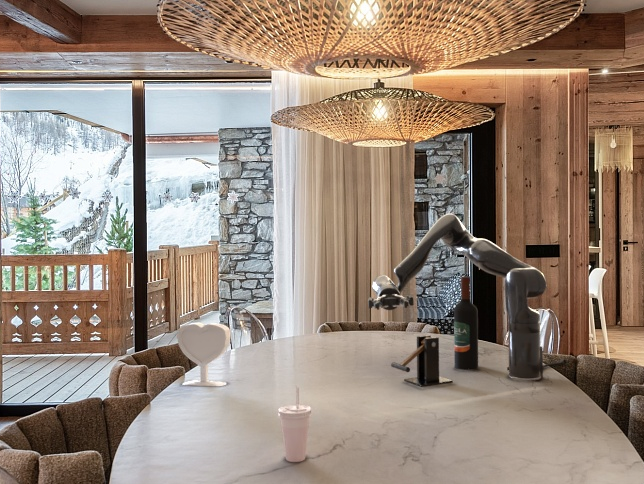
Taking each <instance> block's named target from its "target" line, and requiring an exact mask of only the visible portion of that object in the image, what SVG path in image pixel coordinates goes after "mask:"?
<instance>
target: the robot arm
mask: <svg viewBox="0 0 644 484" xmlns="http://www.w3.org/2000/svg"><path fill="white" fill-rule="evenodd" d="M440 239H441V241H442V242H443V243H444V244H445V245H446V246H447V247H449V248H450V249H453V250H455V251H457V252H458V253H460V254H462V255H463V256H464V257H465V258H466V259H467V260H469V261H470V262H471V263H472V264H474V265H475V266H476V267H478V268H479V269H481V270H482V271H484V272H485V273H487V274H491V275H493V276H496V277H499V278H500V277H501V278H503V279H504V300H505V301H504V303H505V312H506V314H507V320H508V322H507V327H508V328H507V330H508V335H507V336H508V339H507V340H508V366H507V367H506V371H508V377H509V378H511V379H515V380H523V381H524V380H525V381H531V382H532V381H533V382H537V381H540V380H541V379H543V378H544V369H545V368H546V367H552V366H560V365H563V364H564V363H566V359H565V358H564V357H562V359H561V361H559V362H552V363H546V364H544V363H543V361H544V357H543V354H544V353H543V352H544V351H543V349H544V348H543V346H542V345H541V317H540V315H541V314H540V312H539V311H537V310H535V309H532V308H530V306H529V302H528V299H536V298H539V297H541V296H542V295H544V293H545V292H546V290H547V287H548V286H547V285H548V284H547V280H546V277H545V276H544V274H543V273H542V272H541V271H540V270H539V269H537V268H536V267H534V266H532V265H530V264H527V263H525V262H523V261H522V260H519V259H518V258H516V257H514V256H513V255H511V254H510V253H508V252H507V251H505V250H504V249H502V248H500V246H498V245H497V244H495V243H493V242H492V241H490V240H488V239H486V238H477V237H476V236H475V237H474V236H473V235H472V234H471V233H470V232H469V231H468V229H466V227H465V226H464V224H463V223H462V222H461V221H460V219H459V218H458V217H457V215H456V214H454V213H447V214H444V215H442V216H441V217H439V219H437V221H435V223H434V224H433V225H432V227H430V229H429V230H428V231H427V233H426V234H425V235H424V236H423V238H422V239H421V240H420V242H418V244H417V245H416V247H415V248H414V249H413V250H412V251H411V252H410V253H409V254H408V255H407V256H406V257H405V258H404V259H403V260H402V261H401V262H400V263H398V264H397V265H396V266H395V268H394V269H393V273H394V275H395V277H396V278H397V281H398V282H397V284H395V283H394V282H393V280H392V279H391V277H389V276H388V275H386V274H380V275H379V276H377V277H376V278H375V279H374V280H373V281H372V284H371V285H372V286H371V288H372V290H373V292H374V293H375V294H376V296H377V298H375V299H374V297H372V296H369V297H368V299H367V305H368V309H372V308H374V309H376V310H377V311H379V310H380V309H383V310H385V311H393V310H396V309H397V308H398V307H399V308H401V307H404V309H407V308H408V307H413V306H414V305H415V303H414V302H415V301H414V296H413V295H411V294H407V295H406V296H405V297H404V296H403V295H401V294H402V293H403V291H404V289H405V288H406V286H407V285H408V283H409V282H410V281H412V279H414V278H415V277H416V276H417V275H418V274H419V273H420V272H421V271H422V270H423V268H424V267H425V265H426V263H427V261H428V259H429V256H430V253H431V251H432V249H433V247H434V246H435V245H436V244H437V242H438V241H440Z"/></svg>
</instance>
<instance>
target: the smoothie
mask: <svg viewBox="0 0 644 484" xmlns="http://www.w3.org/2000/svg"><path fill="white" fill-rule="evenodd" d="M311 415H312V407H310V406H309V405H305V404H300V387H299V386H296V387H295V404H288V405H284V406H281V407H279V408H278V417H280V424H281V425H280V426H281V430H282V440H283V447H284V455H285V460H286V461H287V462H290V463H300V462H303V461H305V460H306V452H307V444H308V434H309V427H310V426H309V425H310V418H311V417H310V416H311Z"/></svg>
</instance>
